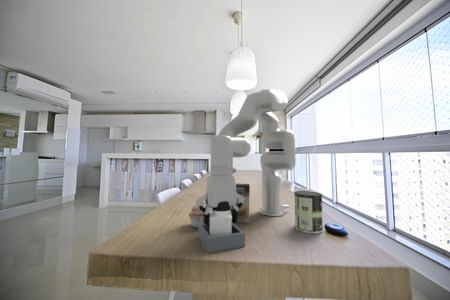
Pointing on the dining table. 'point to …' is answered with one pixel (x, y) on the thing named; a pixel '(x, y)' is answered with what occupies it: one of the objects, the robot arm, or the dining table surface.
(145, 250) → the dining table surface
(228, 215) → the medicine bottle
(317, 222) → the coffee can
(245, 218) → the coffee box
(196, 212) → the cupcake
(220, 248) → the end holder
